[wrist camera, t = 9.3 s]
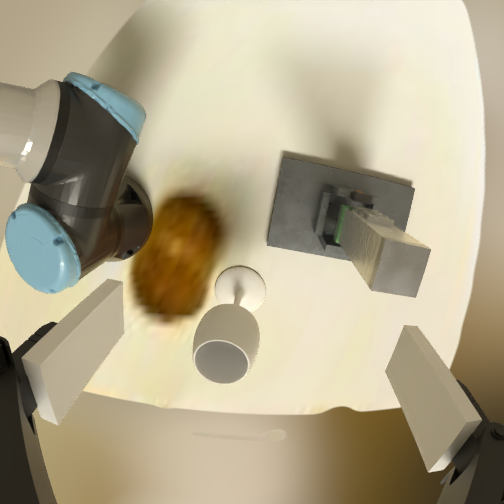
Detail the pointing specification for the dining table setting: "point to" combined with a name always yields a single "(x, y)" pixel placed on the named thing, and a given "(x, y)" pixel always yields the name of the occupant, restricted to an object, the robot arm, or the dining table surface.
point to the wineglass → (230, 328)
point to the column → (381, 251)
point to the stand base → (328, 205)
